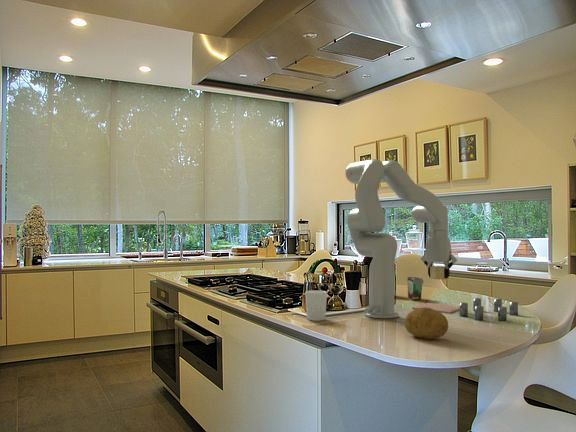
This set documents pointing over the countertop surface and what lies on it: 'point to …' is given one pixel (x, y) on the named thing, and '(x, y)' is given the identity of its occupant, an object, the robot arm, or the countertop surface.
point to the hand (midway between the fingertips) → (438, 277)
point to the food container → (414, 288)
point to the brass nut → (437, 272)
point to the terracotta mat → (439, 307)
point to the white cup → (316, 305)
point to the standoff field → (497, 308)
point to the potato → (426, 323)
